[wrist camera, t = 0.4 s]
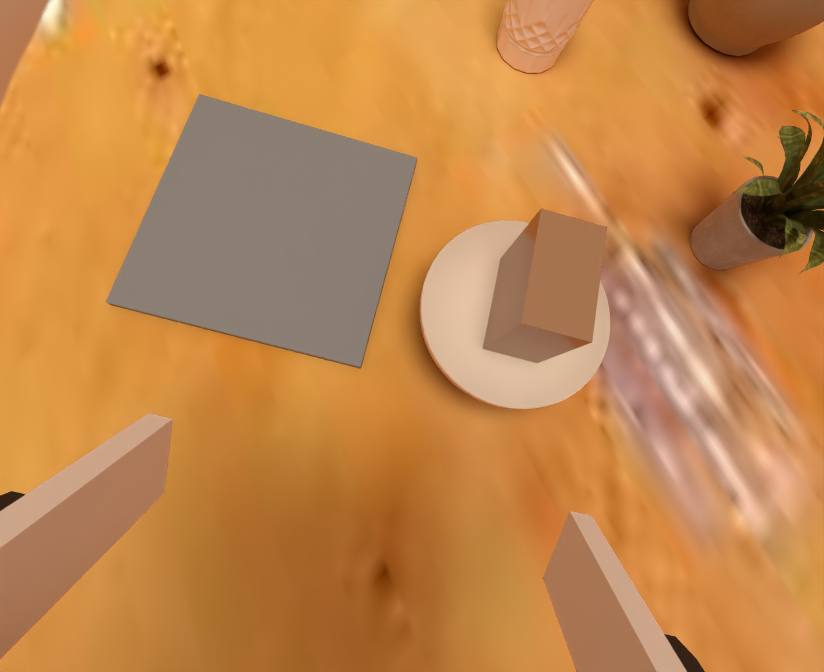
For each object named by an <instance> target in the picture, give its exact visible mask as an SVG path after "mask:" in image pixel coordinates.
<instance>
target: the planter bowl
mask: <svg viewBox="0 0 824 672" xmlns="http://www.w3.org/2000/svg"><path fill="white" fill-rule="evenodd" d="M688 16H689V20H690V23H691V25H692V28H693V29H694V31H695V32H696V34H697V35H698V36H699V37H700V38H701V40H702V41H703V42H705V44H707V45H709V46H710V47H712V48H713V49H715V50H717V51H719V52H722V53H724V54H728V55H733V56H742V55H747V54H750V53H752V52H754V51H755V50H757V49H758V48H759V47H761V46H763V45H767V44H771V43H775V42H778V41H781V40H784V39H787V38H790V37H792V36H795V35H797V34H800V33H802V32H804V31H806V30H808V29H810V28H812V27H814V26H816V25H818V24H820V23H822V22H823V21H824V0H690V2H689V5H688Z"/></svg>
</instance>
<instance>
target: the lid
mask: <svg viewBox="0 0 824 672" xmlns="http://www.w3.org/2000/svg"><path fill="white" fill-rule="evenodd" d="M606 231H607V227H604V226H600V225H597V224H593V223H590V222H586V221H583V220H580V219H576V218H573V217H569V216H566V215H562V214H559V213H555V212H552V211H548V210H545V209H540V211H539V212H538V213H537V214H536V216H535V217H534V218H533V219H532V220H531V222H530V223H526V222H521V221H511V220H508V221H494V222H487V223H484V224H480V225H477V226H474V227H472V228H470V229H468V230H466V231H464V232H462V233H461V234H459V235H457V236H456V237H455V238H454V239H452V240H451V241H450V242H449V243H448V244H447V245H446V246H445V247H444V248H443V249H442V250H441V251H440V252H439V254H438V255H437V257H436V258H435V260H434V261H433V263H432V265H431V267H430V269H429V271H428V273H427V276H426V278H425V281H424V284H423V287H422V291H421V297H420V307H419V316H420V326H421V330H422V334H423V338H424V341H425V344H426V346H427V349H428V351H429V353H430V355H431V357H432V358H433V360H434V362H435V363H436V365H437V366H438V368H439V369H440V370H441V372H442V373H443V374H444V375H445V376H446V377H447V378H448V379H449V381H450V382H452V383H453V384H454V385H455V386H456V387H457V388H459V389H460V390H461V391H463V392H464V393H466V394H467V395H469V396H470V397H472V398H474V399H476V400H478V401H481V402H483V403H486V404H489V405H492V406H495V407H500V408H505V409H518V410H522V409H532V408H540V407H544V406H548V405H552V404H555V403H557V402H560V401H562V400H565V399H566V398H568V397H570V396H571V395H573V394H575V393H576V392H577V391H578V390H580V389H581V388H582V387H584V385H585V384H586V383H587V382H588V381H589V380H590V379H591V378H592V377H593V375H594V374H595V372H596V371H597V369H598V368H599V366H600V364H601V362H602V360H603V358H604V355H605V352H606V349H607V346H608V341H609V335H610V312H609V306H608V301H607V297H606V294H605V291H604V288H603V286H602V284H601V281H600V278H601V270H602V262H603V254H604V247H605V239H606Z"/></svg>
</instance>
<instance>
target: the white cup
mask: <svg viewBox="0 0 824 672" xmlns="http://www.w3.org/2000/svg"><path fill="white" fill-rule="evenodd" d="M593 1H594V0H506V4H505V8H504V13H503V17H502V20H501V24H500V27H499V30H498V34H497V48H498V50H499V52H500V54H501V56H502V58H503V60H505V61H506V62H507V63H508V64H509V65H510V66H512V67H513V68H514V69H517V70H520V71H522V72H525V73H541V72H543V71H545V70H547V69H549V68H551V67H552V66H553V65H554V63H555V61H556V60H557V58H558V56H559V55H560V53H561V51H562V50H563V48H564V47H565V45H566V44H567V42H568V41H569V40H570V39H571V37H572V36H573V34H574V32H575V31H576V29H577V28H578V26H579V25H580V23H581V21H582V20H583V18H584V16H585V15H586V13H587V11H588V9H589V8H590V6H591V4H592V3H593Z"/></svg>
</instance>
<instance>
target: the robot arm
mask: <svg viewBox="0 0 824 672" xmlns="http://www.w3.org/2000/svg"><path fill="white" fill-rule="evenodd" d="M172 422H173V419H172V418H167V417H163V416H159V415H154V414H150V413H148V414H147V415H145V416H144V417H142V418H141V419H139V420H138V421H136V422H135V423H133V424H132V425H130V426H129V427H127V428H126V429H124V430H123V431H121V432H120V433H118V434H116V435H115V436H113V437H112V438H110V439H109V440H107V441H106V442H104V443H103V444H101V445H100V446H98V447H97V448H95V449H94V450H92V451H91V452H89V453H88V454H86V455H85V456H83V457H82V458H80V459H79V460H77V461H76V462H74V463H73V464H71V465H70V466H68V467H67V468H65V469H64V470H62V471H61V472H59V473H57V474H56V475H54V476H53V477H51V478H50V479H48V480H47V481H45V482H44V483H42V484H41V485H39V486H38V487H36V488H35V489H33V490H32V491H30V492H29V493H27V494H22V493H17V492H13V491H11V492H8V493H6V494H3V495H1V496H0V659H1V658H2V657H3V656H4V655H5V654H6V653H7V652H8V651H9V650H10V649H11V648H12V647H13V646H14V645H15V644H16V643H17V642H18V641H19V640H20V639H21V638H22V637H23V636H24V635H25V634H26V633H27V632H28V631H29V630H30V629H31V628H32V627H33V626H34V625H35V624H36V623H37V622H38V621H39V620H40V619H41V618H42V617H43V616H44V615H45V613H46V612H47V611H48V610H49V609H50V608H51V607H52V606H53V605H54V604H55V603H56V602H57V601H58V600H59V599H60V598H61V597H62V596H63V595H64V594H65V593H66V592H67V591H68V590H69V589H70V588H71V587H72V586H73V585H74V584H75V583H76V582H77V581H78V580H79V579H80V578H81V577H82V576H83V575H84V574H85V573H86V572H87V571H88V570H89V569H90V568H91V567H92V566H93V565H94V564H95V563H96V562H97V561H98V560H99V559H100V558H101V557H102V556H103V555H104V554H105V553H106V552H107V551H108V550H109V549H110V548H111V547H112V546H113V545H114V544H115V543H116V542H117V540H118V539H119V538H120V537H121V536H122V535H123V534H124V533H125V532H126V531H127V530H128V529H129V528H130V527H131V526H132V525H133V524H134V523H135V522H136V521H137V520H138V519H139V518H140V517H141V516H142V515H143V514H144V513H145V512H146V511H147V510H148V509H149V508H150V507H151V506H152V505H153V504H154V503H155V502H156V501H157V500H158V499H159V498H160V497H161V496H162V495H163V494H164V492H165V483H166V475H167V466H168V457H169V449H170V440H171V431H172ZM543 579H544V582H545V585H546V587H547V590H548V593H549V596H550V599H551V601H552V604H553V607H554V610H555V613H556V615H557V618H558V621H559V624H560V626H561V629H562V632H563V635H564V638H565V640H566V643H567V646H568V649H569V652H570V654H571V657H572V660H573V663H574V666H575V668H576V671H577V672H705V671H704V670H703V668H702V667H701V665H700V664H699V662H698V661H697V659H696V658H695V657H694V656H693V655H692V654H691V653H690V652H689V650H688V649H687V648H686V647H685V646H684V645H683V644H682V643H681V642H680V641H679V640H678V639H677V638H676V637H675V636H670V635H666V634H664V633H663V632H662V630H661V628H660V627H659V625H658V623H657V622H656V620H655V619H654V617H653V615H652V614H651V612H650V610H649V609H648V607H647V605H646V604H645V602H644V601H643V599H642V597H641V596H640V594H639V592H638V591H637V589H636V587H635V586H634V584H633V582H632V581H631V579H630V578H629V576H628V574H627V573H626V571H625V569H624V568H623V566H622V564H621V563H620V561H619V560H618V558H617V556H616V555H615V553H614V551H613V550H612V548H611V546H610V545H609V543H608V541H607V540H606V538H605V537H604V535H603V533H602V532H601V530H600V528H599V527H598V525H597V523H596V522H595V520H594V519H593V517H592V516H590V515H586V514H581V513H577V512H573V511H569V514H568V516H567V519H566V521H565V524H564V526H563V529H562V531H561V534H560V537H559V539H558V542H557V544H556V547H555V549H554V552H553V554H552V557H551V559H550V562H549V564H548V567H547V569H546V572H545V574H544V577H543Z"/></svg>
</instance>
